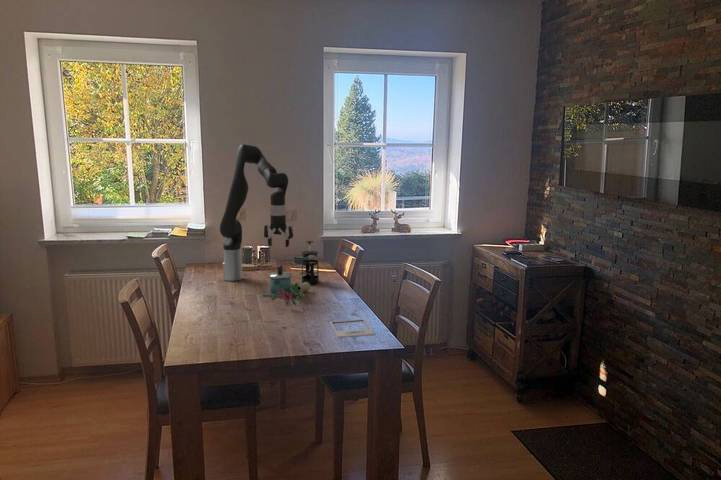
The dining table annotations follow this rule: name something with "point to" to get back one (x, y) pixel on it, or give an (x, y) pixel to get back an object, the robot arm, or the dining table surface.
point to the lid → (280, 273)
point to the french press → (309, 278)
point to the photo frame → (354, 332)
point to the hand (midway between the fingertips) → (278, 246)
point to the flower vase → (295, 288)
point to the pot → (278, 287)
